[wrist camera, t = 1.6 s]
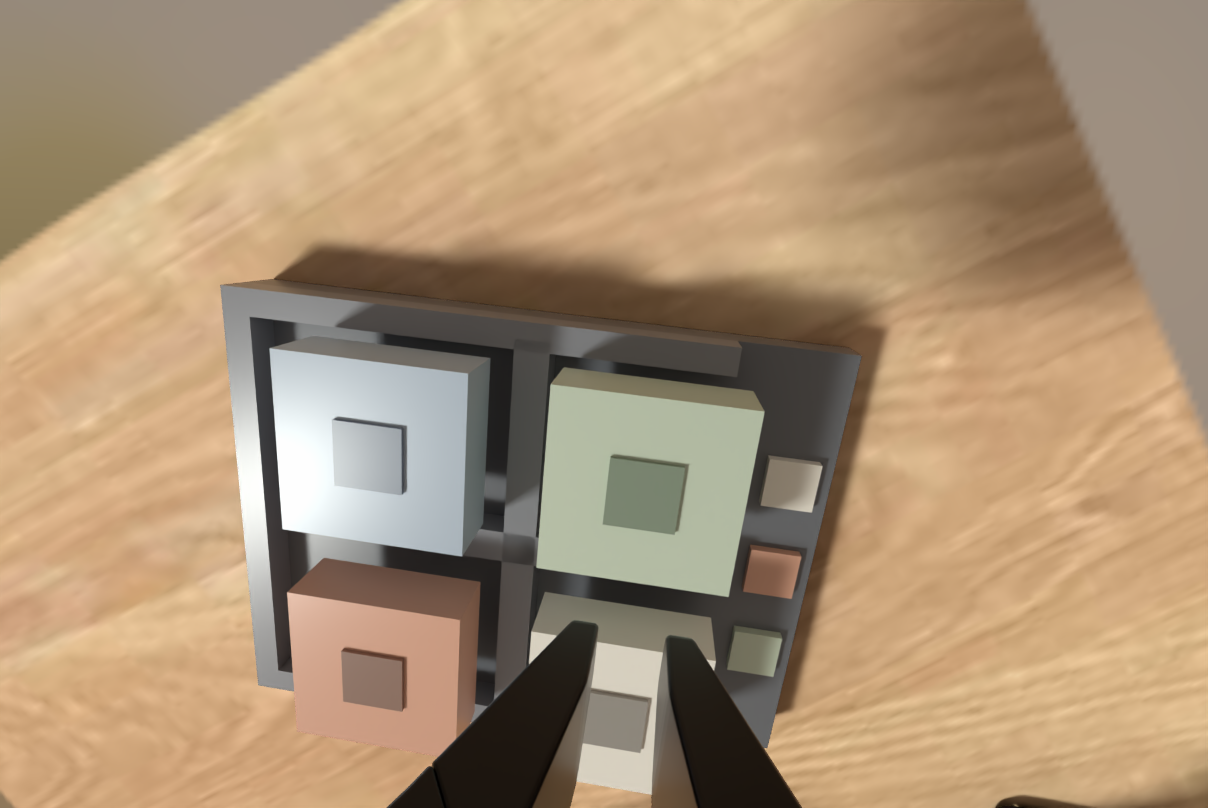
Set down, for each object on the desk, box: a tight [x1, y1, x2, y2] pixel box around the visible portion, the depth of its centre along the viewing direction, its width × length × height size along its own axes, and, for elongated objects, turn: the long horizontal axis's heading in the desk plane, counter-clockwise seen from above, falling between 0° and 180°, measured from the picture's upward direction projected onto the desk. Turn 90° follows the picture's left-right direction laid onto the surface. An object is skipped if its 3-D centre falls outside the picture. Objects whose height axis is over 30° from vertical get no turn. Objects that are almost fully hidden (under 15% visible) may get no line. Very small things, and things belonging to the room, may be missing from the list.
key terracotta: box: [287, 558, 480, 757], centre depth 17 cm, size 5×5×2 cm
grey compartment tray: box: [220, 279, 862, 748], centre depth 19 cm, size 18×14×2 cm
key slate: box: [269, 336, 490, 556], centre depth 15 cm, size 5×5×2 cm
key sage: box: [536, 367, 765, 597], centre depth 15 cm, size 5×5×2 cm
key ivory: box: [529, 592, 716, 795], centre depth 17 cm, size 5×5×2 cm
